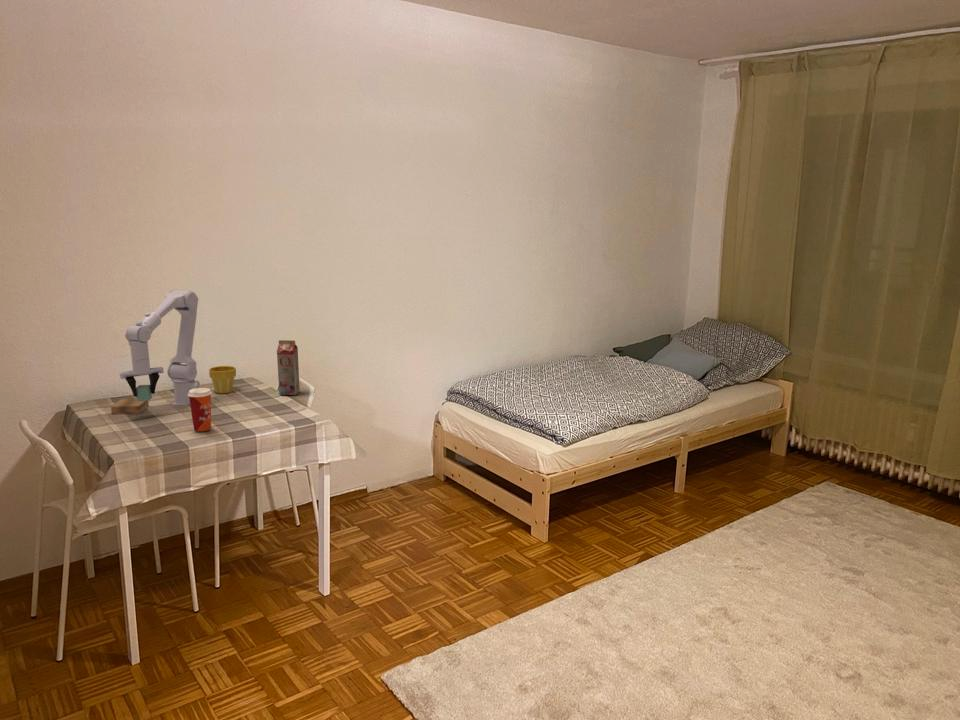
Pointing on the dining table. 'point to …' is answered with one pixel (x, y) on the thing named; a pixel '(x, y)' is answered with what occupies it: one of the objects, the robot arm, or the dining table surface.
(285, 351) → the juice carton
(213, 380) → the plant pot
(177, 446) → the dining table surface
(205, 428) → the paper cup
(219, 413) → the dining table surface
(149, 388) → the teal block
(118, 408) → the walnut plinth
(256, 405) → the dining table surface
